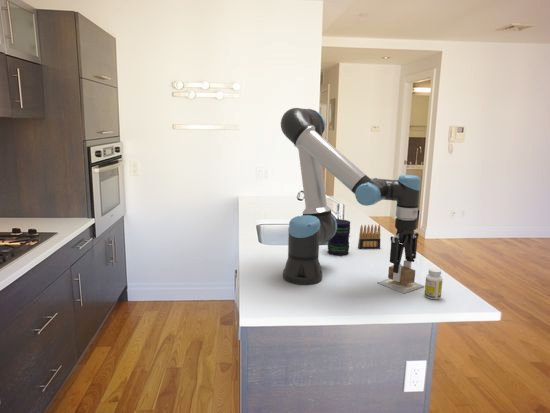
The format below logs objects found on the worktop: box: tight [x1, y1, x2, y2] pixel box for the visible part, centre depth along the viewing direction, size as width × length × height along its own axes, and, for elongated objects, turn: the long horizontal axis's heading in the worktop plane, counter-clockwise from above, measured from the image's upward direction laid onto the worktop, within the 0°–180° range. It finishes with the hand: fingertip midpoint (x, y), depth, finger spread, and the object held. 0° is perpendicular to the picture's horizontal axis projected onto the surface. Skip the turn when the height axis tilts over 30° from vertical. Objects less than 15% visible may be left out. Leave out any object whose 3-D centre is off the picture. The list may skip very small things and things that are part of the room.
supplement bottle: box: [424, 267, 444, 300], centre depth 143 cm, size 5×5×10 cm
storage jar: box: [327, 218, 351, 257], centre depth 191 cm, size 10×10×15 cm
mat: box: [377, 278, 425, 294], centre depth 154 cm, size 12×12×1 cm
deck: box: [387, 264, 416, 285], centre depth 154 cm, size 8×5×4 cm, turn 36°
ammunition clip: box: [357, 224, 381, 250], centre depth 200 cm, size 11×2×12 cm, turn 98°
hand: (401, 279), depth 154 cm, fingers closed on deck, 5 cm apart
